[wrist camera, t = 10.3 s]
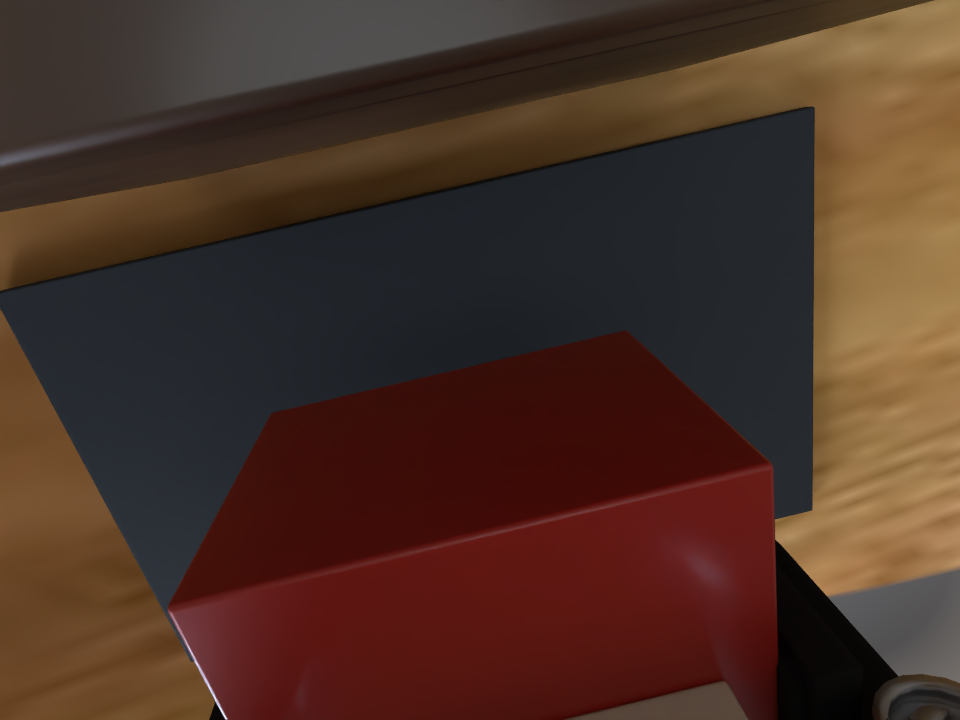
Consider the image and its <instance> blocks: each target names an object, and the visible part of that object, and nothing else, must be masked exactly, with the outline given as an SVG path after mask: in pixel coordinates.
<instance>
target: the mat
mask: <svg viewBox="0 0 960 720" xmlns="http://www.w3.org/2000/svg"><path fill="white" fill-rule="evenodd" d="M814 125H815V108H814V107H804V108H799V109H795V110H790V111H786V112H782V113H777V114H773V115H768V116H764V117H760V118H755V119H751V120H747V121H742V122H738V123H733V124H729V125H725V126H720V127H716V128H711V129H707V130H703V131H698V132H694V133H690V134H685V135H681V136H676V137H672V138H668V139H663V140H659V141H654V142H650V143H646V144H641V145H637V146H633V147H628V148H624V149H619V150H615V151H611V152H606V153H602V154H597V155H593V156H589V157H584V158H580V159H576V160H571V161H567V162H562V163H558V164H554V165H549V166H545V167H540V168H536V169H532V170H527V171H523V172H519V173H514V174H510V175H505V176H501V177H497V178H492V179H488V180H483V181H479V182H475V183H470V184H466V185H461V186H457V187H453V188H448V189H444V190H440V191H435V192H431V193H426V194H422V195H418V196H413V197H409V198H404V199H400V200H396V201H391V202H387V203H383V204H378V205H374V206H369V207H365V208H361V209H356V210H352V211H347V212H343V213H339V214H334V215H330V216H326V217H321V218H317V219H312V220H308V221H304V222H299V223H295V224H290V225H286V226H282V227H277V228H273V229H269V230H264V231H260V232H255V233H251V234H247V235H242V236H238V237H233V238H229V239H225V240H220V241H216V242H212V243H207V244H203V245H198V246H194V247H190V248H185V249H181V250H176V251H172V252H168V253H163V254H159V255H155V256H150V257H146V258H141V259H137V260H133V261H128V262H124V263H119V264H115V265H111V266H106V267H102V268H98V269H93V270H89V271H84V272H80V273H76V274H71V275H67V276H62V277H58V278H54V279H49V280H45V281H40V282H36V283H32V284H27V285H23V286H19V287H14V288H10V289H5V290H2V291H0V309H1V310H2V312H3V314H4V316H5V318H6V320H7V321H8V323H9V325H10V327H11V329H12V331H13V333H14V334H15V336H16V338H17V340H18V342H19V344H20V346H21V347H22V349H23V351H24V353H25V355H26V357H27V359H28V360H29V362H30V364H31V366H32V368H33V370H34V372H35V373H36V375H37V377H38V379H39V381H40V383H41V385H42V386H43V388H44V390H45V392H46V394H47V396H48V398H49V399H50V401H51V403H52V405H53V407H54V409H55V411H56V412H57V414H58V416H59V418H60V420H61V422H62V423H63V425H64V427H65V429H66V431H67V433H68V435H69V436H70V438H71V440H72V442H73V444H74V446H75V448H76V449H77V451H78V453H79V455H80V457H81V459H82V461H83V462H84V464H85V466H86V468H87V470H88V472H89V474H90V475H91V477H92V479H93V481H94V483H95V485H96V487H97V488H98V490H99V492H100V494H101V496H102V498H103V500H104V501H105V503H106V505H107V507H108V509H109V511H110V513H111V514H112V516H113V518H114V520H115V522H116V524H117V525H118V527H119V529H120V531H121V533H122V535H123V537H124V538H125V540H126V542H127V544H128V546H129V548H130V550H131V551H132V553H133V555H134V557H135V559H136V561H137V563H138V564H139V566H140V568H141V570H142V572H143V574H144V576H145V577H146V579H147V581H148V583H149V585H150V587H151V589H152V590H153V592H154V594H155V596H156V598H157V600H158V602H159V603H160V605H161V607H162V609H163V611H164V613H165V615H166V616H167V618H168V620H169V622H170V624H171V626H172V627H173V629H174V631H175V633H176V635H177V637H178V639H179V640H180V642H181V644H182V646H183V648H184V650H185V652H186V653H187V655H188V657H189V659H190V661H191V662H194V660H193V658H192V656H191V655H190V653H189V651H188V649H187V647H186V645H185V643H184V641H183V640H182V638H181V636H180V634H179V632H178V630H177V628H176V627H175V625H174V623H173V621H172V619H171V617H170V615H169V613H168V605H169V603H170V601H171V599H172V597H173V595H174V593H175V591H176V590H177V588H178V586H179V584H180V582H181V580H182V578H183V577H184V575H185V573H186V571H187V569H188V567H189V565H190V563H191V562H192V560H193V558H194V556H195V554H196V552H197V550H198V548H199V547H200V545H201V543H202V541H203V539H204V537H205V535H206V534H207V532H208V530H209V528H210V526H211V524H212V522H213V520H214V519H215V517H216V515H217V513H218V511H219V509H220V507H221V506H222V504H223V502H224V500H225V498H226V496H227V494H228V492H229V491H230V489H231V487H232V485H233V483H234V481H235V479H236V478H237V476H238V474H239V472H240V470H241V468H242V466H243V464H244V463H245V461H246V459H247V457H248V455H249V453H250V451H251V450H252V448H253V446H254V444H255V442H256V440H257V438H258V436H259V435H260V433H261V431H262V429H263V427H264V425H265V423H266V422H267V420H268V418H269V416H270V414H272V413H273V412H277V411H282V410H286V409H290V408H294V407H299V406H303V405H307V404H312V403H316V402H320V401H325V400H329V399H333V398H337V397H342V396H346V395H350V394H355V393H359V392H363V391H367V390H372V389H376V388H380V387H385V386H389V385H393V384H397V383H402V382H406V381H410V380H415V379H419V378H423V377H427V376H432V375H436V374H440V373H445V372H449V371H453V370H457V369H462V368H466V367H470V366H475V365H479V364H483V363H487V362H492V361H496V360H500V359H505V358H509V357H513V356H517V355H522V354H526V353H530V352H535V351H539V350H543V349H547V348H552V347H556V346H560V345H565V344H569V343H573V342H578V341H582V340H586V339H590V338H595V337H599V336H603V335H608V334H612V333H616V332H620V331H628V332H629V333H630V334H632V335H633V336H634V337H635V338H636V339H637V340H638V341H639V342H640V343H641V344H642V345H644V346H645V347H646V348H647V349H648V350H649V351H650V352H651V353H652V354H653V355H654V356H656V357H657V358H658V359H659V360H660V361H661V362H662V363H663V364H664V365H665V366H667V367H668V368H669V369H670V370H671V371H672V372H673V373H674V374H675V375H676V376H677V377H679V378H680V379H681V380H682V381H683V382H684V383H685V384H686V385H687V386H688V387H689V388H691V389H692V390H693V391H694V392H695V393H696V394H697V395H698V396H699V397H700V398H701V399H703V400H704V401H705V402H706V403H707V404H708V405H709V406H710V407H711V408H712V409H713V410H715V411H716V412H717V413H718V414H719V415H720V416H721V417H722V418H723V419H724V420H726V421H727V422H728V423H729V424H730V425H731V426H732V427H733V428H734V429H735V430H736V431H738V432H739V433H740V434H741V435H742V436H743V437H744V438H745V439H746V440H747V441H748V442H750V443H751V444H752V445H753V446H754V447H755V448H756V449H757V450H758V451H759V452H760V453H762V454H763V455H764V456H765V457H766V458H767V459H768V460H769V461H770V462H771V464H772V465H773V475H774V515H775V519H779V518H783V517H787V516H791V515H795V514H799V513H803V512H807V511H811V510H812V483H813V304H814Z"/></svg>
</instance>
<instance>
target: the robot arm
mask: <svg viewBox="0 0 960 720" xmlns="http://www.w3.org/2000/svg"><path fill="white" fill-rule="evenodd" d="M775 556H776V596H777V636H778V665H777V702H778V720H960V683H958V682H955V681H952V680H950V679H947V678H943V677H936V676H930V675H924V674H918V675H917V674H916V675H902V676H899V677H898V675H897V674H896V673H895V672H894V671H893V670H892V669H891V668H890V667H889V665H888V664H887V663H886V662H885V661H884V660H883V659H882V658H881V657H880V655H879V654H878V653H877V652H876V651H875V650H874V649H873V648H872V647H871V645H870V644H869V643H868V642H867V641H866V640H865V639H864V637H863V636H862V635H861V634H860V633H859V632H858V631H857V630H856V629H855V627H854V626H853V625H852V624H851V623H850V622H849V621H848V619H847V618H846V617H845V616H844V615H843V614H842V613H841V612H840V611H839V610H838V608H837V607H836V606H835V605H834V604H833V603H832V602H831V600H830V599H829V598H828V597H827V596H826V595H825V594H824V593H823V592H822V590H821V589H820V588H819V587H818V586H817V585H816V584H815V583H814V581H813V580H812V579H811V578H810V577H809V576H808V575H807V574H806V572H805V571H804V570H803V569H802V568H801V567H800V566H799V565H798V564H797V562H796V561H795V560H794V559H793V558H792V557H791V556H790V555H789V553H788V552H787V551H786V550H785V549H784V548H783V547H782V546H781V545H780V544H779V543H778V542H777V541H776V540H775ZM209 720H225V718H224V716H223V714H222V713H221V711H220V709H219V707H218V705H217V703H216V702H215V705H214V708H213V710H212V713H211V716H210V719H209Z"/></svg>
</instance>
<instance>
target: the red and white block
mask: <svg viewBox="0 0 960 720" xmlns="http://www.w3.org/2000/svg"><path fill="white" fill-rule="evenodd" d="M168 613H169V615H170V617H171V619H172V621H173V623H174V625H175V627H176V628H177V630H178V632H179V634H180V636H181V638H182V640H183V641H184V643H185V645H186V647H187V649H188V651H189V653H190V655H191V656H192V658H193V660H194V662H195V664H196V666H197V668H198V670H199V671H200V673H201V675H202V677H203V679H204V681H205V683H206V685H207V686H208V688H209V690H210V692H211V694H212V696H213V698H214V699H215V701H216V703H217V705H218V707H219V709H220V711H221V713H222V714H223V716H224V718H225V720H778V702H777V665H778V636H777V596H776V556H775V515H774V475H773V465H772V464H771V462H770V461H769V460H768V459H767V458H766V457H765V456H764V455H763V454H762V453H760V452H759V451H758V450H757V449H756V448H755V447H754V446H753V445H752V444H751V443H750V442H748V441H747V440H746V439H745V438H744V437H743V436H742V435H741V434H740V433H739V432H738V431H736V430H735V429H734V428H733V427H732V426H731V425H730V424H729V423H728V422H727V421H726V420H724V419H723V418H722V417H721V416H720V415H719V414H718V413H717V412H716V411H715V410H713V409H712V408H711V407H710V406H709V405H708V404H707V403H706V402H705V401H704V400H703V399H701V398H700V397H699V396H698V395H697V394H696V393H695V392H694V391H693V390H692V389H691V388H689V387H688V386H687V385H686V384H685V383H684V382H683V381H682V380H681V379H680V378H679V377H677V376H676V375H675V374H674V373H673V372H672V371H671V370H670V369H669V368H668V367H667V366H665V365H664V364H663V363H662V362H661V361H660V360H659V359H658V358H657V357H656V356H654V355H653V354H652V353H651V352H650V351H649V350H648V349H647V348H646V347H645V346H644V345H642V344H641V343H640V342H639V341H638V340H637V339H636V338H635V337H634V336H633V335H632V334H630V333H629V332H628V331H620V332H616V333H612V334H608V335H603V336H599V337H595V338H590V339H586V340H582V341H578V342H573V343H569V344H565V345H560V346H556V347H552V348H547V349H543V350H539V351H535V352H530V353H526V354H522V355H517V356H513V357H509V358H505V359H500V360H496V361H492V362H487V363H483V364H479V365H475V366H470V367H466V368H462V369H457V370H453V371H449V372H445V373H440V374H436V375H432V376H427V377H423V378H419V379H415V380H410V381H406V382H402V383H397V384H393V385H389V386H385V387H380V388H376V389H372V390H367V391H363V392H359V393H355V394H350V395H346V396H342V397H337V398H333V399H329V400H325V401H320V402H316V403H312V404H307V405H303V406H299V407H294V408H290V409H286V410H282V411H277V412H273V413H272V414H270V416H269V418H268V420H267V422H266V423H265V425H264V427H263V429H262V431H261V433H260V435H259V436H258V438H257V440H256V442H255V444H254V446H253V448H252V450H251V451H250V453H249V455H248V457H247V459H246V461H245V463H244V464H243V466H242V468H241V470H240V472H239V474H238V476H237V478H236V479H235V481H234V483H233V485H232V487H231V489H230V491H229V492H228V494H227V496H226V498H225V500H224V502H223V504H222V506H221V507H220V509H219V511H218V513H217V515H216V517H215V519H214V520H213V522H212V524H211V526H210V528H209V530H208V532H207V534H206V535H205V537H204V539H203V541H202V543H201V545H200V547H199V548H198V550H197V552H196V554H195V556H194V558H193V560H192V562H191V563H190V565H189V567H188V569H187V571H186V573H185V575H184V577H183V578H182V580H181V582H180V584H179V586H178V588H177V590H176V591H175V593H174V595H173V597H172V599H171V601H170V603H169V605H168Z"/></svg>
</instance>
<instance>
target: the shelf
mask: <svg viewBox="0 0 960 720" xmlns="http://www.w3.org/2000/svg"><path fill="white" fill-rule="evenodd" d="M929 1H933V0H0V212H3V211H9V210H14V209H20V208H26V207H31V206H37V205H43V204H48V203H54V202H60V201H65V200H71V199H76V198H82V197H88V196H93V195H99V194H105V193H110V192H116V191H122V190H127V189H133V188H139V187H144V186H150V185H156V184H161V183H167V182H172V181H178V180H184V179H189V178H193V177H197V176H202V175H206V174H211V173H215V172H220V171H224V170H229V169H233V168H237V167H242V166H246V165H251V164H255V163H260V162H264V161H269V160H273V159H277V158H282V157H286V156H291V155H295V154H300V153H304V152H308V151H313V150H317V149H322V148H326V147H331V146H335V145H340V144H344V143H348V142H353V141H357V140H362V139H366V138H371V137H375V136H380V135H384V134H388V133H393V132H397V131H402V130H406V129H411V128H415V127H419V126H424V125H428V124H433V123H437V122H442V121H446V120H451V119H455V118H459V117H464V116H468V115H473V114H477V113H482V112H486V111H490V110H495V109H499V108H504V107H508V106H513V105H517V104H522V103H526V102H530V101H535V100H539V99H544V98H548V97H553V96H557V95H562V94H566V93H570V92H575V91H579V90H584V89H588V88H593V87H597V86H601V85H606V84H610V83H615V82H619V81H624V80H628V79H633V78H637V77H641V76H646V75H650V74H655V73H659V72H664V71H668V70H673V69H677V68H681V67H685V66H689V65H693V64H697V63H700V62H704V61H708V60H712V59H715V58H719V57H723V56H727V55H730V54H734V53H738V52H742V51H745V50H749V49H753V48H757V47H760V46H764V45H768V44H772V43H775V42H779V41H783V40H787V39H790V38H794V37H798V36H802V35H805V34H809V33H813V32H817V31H820V30H824V29H828V28H832V27H836V26H839V25H843V24H847V23H851V22H854V21H858V20H862V19H866V18H869V17H873V16H877V15H881V14H884V13H888V12H892V11H896V10H899V9H903V8H907V7H911V6H914V5H918V4H922V3H926V2H929Z"/></svg>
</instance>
